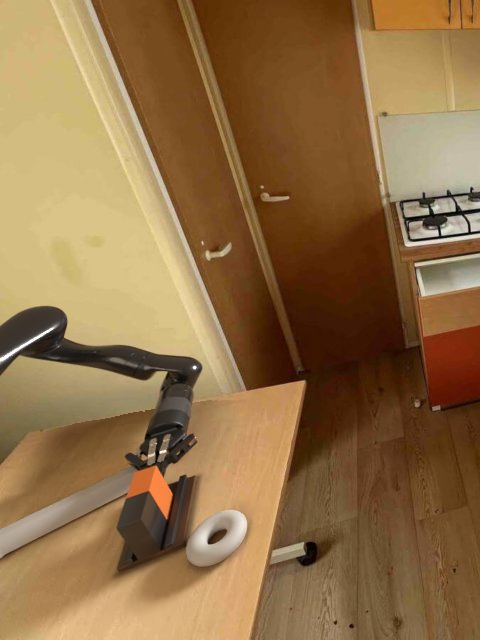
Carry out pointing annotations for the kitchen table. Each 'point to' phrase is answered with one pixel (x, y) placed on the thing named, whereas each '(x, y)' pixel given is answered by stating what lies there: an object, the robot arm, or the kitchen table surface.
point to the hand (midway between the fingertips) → (153, 481)
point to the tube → (64, 511)
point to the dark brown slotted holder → (154, 524)
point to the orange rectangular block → (153, 488)
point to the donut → (212, 554)
